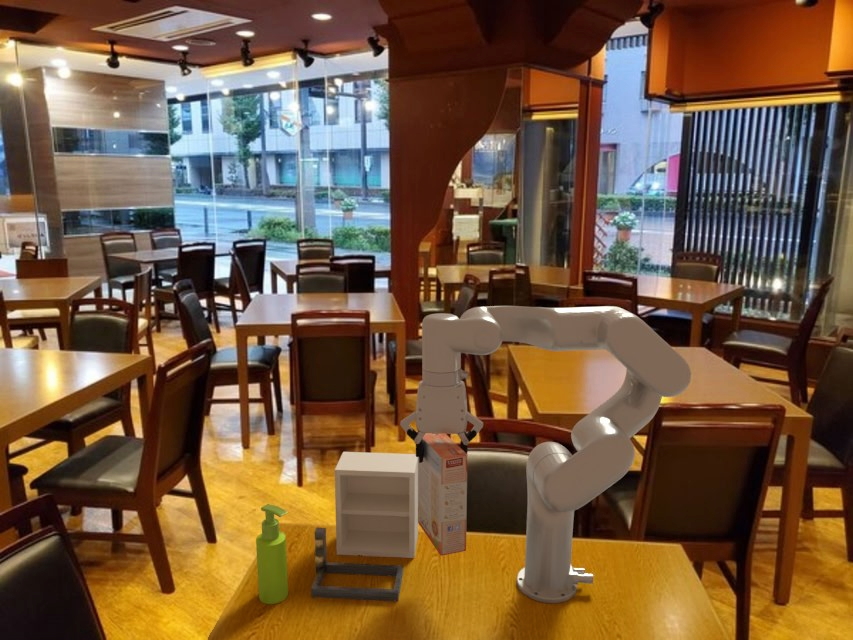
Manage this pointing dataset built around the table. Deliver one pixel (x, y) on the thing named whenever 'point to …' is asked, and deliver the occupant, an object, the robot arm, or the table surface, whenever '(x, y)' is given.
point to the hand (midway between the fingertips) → (441, 460)
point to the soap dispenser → (272, 558)
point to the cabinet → (376, 504)
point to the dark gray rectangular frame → (351, 568)
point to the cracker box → (443, 493)
